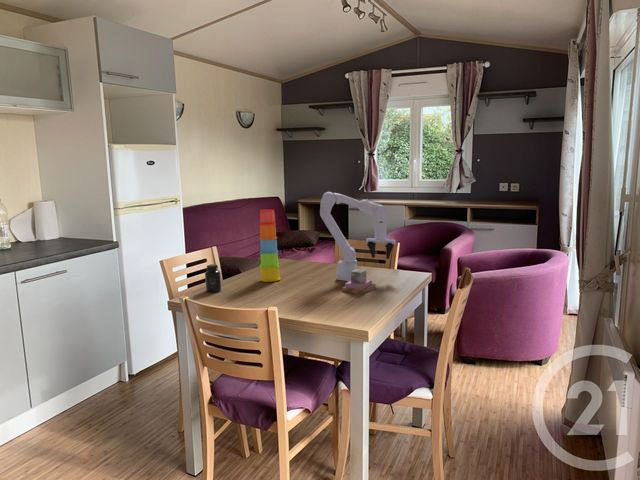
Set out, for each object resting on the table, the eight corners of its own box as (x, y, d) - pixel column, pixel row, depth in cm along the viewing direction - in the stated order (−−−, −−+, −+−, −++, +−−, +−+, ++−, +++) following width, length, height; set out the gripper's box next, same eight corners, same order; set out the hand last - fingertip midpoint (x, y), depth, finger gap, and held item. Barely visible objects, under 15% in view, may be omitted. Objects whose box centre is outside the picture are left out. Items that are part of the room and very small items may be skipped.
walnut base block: (342, 292, 217) (342, 287, 217) (357, 286, 227) (356, 281, 226) (360, 296, 211) (360, 290, 211) (375, 289, 220) (375, 284, 220)
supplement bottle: (224, 289, 224) (222, 264, 222) (216, 293, 218) (214, 267, 216) (211, 288, 226) (209, 263, 224) (203, 292, 220) (201, 266, 218)
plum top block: (345, 287, 216) (345, 283, 216) (356, 282, 224) (356, 278, 224) (361, 290, 212) (361, 285, 211) (371, 284, 220) (371, 280, 220)
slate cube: (351, 282, 217) (350, 271, 216) (356, 279, 221) (356, 268, 220) (360, 283, 215) (360, 272, 214) (366, 281, 219) (366, 270, 218)
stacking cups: (256, 281, 237) (252, 210, 231) (266, 276, 246) (263, 208, 240) (275, 283, 233) (272, 211, 227) (284, 278, 242) (282, 209, 236)
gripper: (363, 230, 233) (363, 258, 236) (391, 232, 226) (391, 260, 228) (369, 228, 239) (369, 255, 241) (397, 230, 232) (397, 257, 234)
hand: (380, 257), depth 235 cm, fingers open, 7 cm apart
